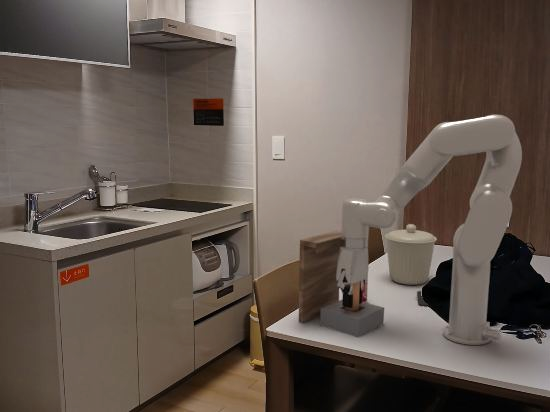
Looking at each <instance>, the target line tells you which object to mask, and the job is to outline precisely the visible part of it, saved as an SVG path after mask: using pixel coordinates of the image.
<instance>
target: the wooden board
mask: <svg viewBox="0 0 550 412" xmlns="http://www.w3.org/2000/svg"><path fill="white" fill-rule="evenodd" d="M341 232H342V230H334V231H329V232H326V233H321V234H317V235H314V236H310V237H305V238H302V239H299V273H298V277H299V279H298V323H300V324H305V323H307V322H309V321H312V320H314V319H316V318H319V317H321V308H323V307H325V306H328V305H330V304H332V303H335V302H337V301H340V288H339V287H337V284H338V282H337V280H336V271H337V261H338V255H339V250H340V248H341Z"/></svg>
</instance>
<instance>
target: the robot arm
mask: <svg viewBox="0 0 550 412" xmlns="http://www.w3.org/2000/svg"><path fill="white" fill-rule="evenodd" d="M485 152H486V157H485V162H484V163H483V164H484V165H483V167H482V170H481V173H480V175H479V178H478V180H477V183H476V186H475V188H474V190H473V192H472V194H471V196H470V198H469V208H470V209H469V211H468V213H467V217H466V219H465V222H464V223H462V224H461V225H460V226H459V227H458V228H457V229H456V230H455V233H454V235H453V243H452V271H451V282H450V283H451V285H450V289H451V290H450V299H449V300H450V301H449V302H450V303H449V318H448V319H449V320H448V325H445V326H444V327H443V328H442V335H443V336H444V337H445V338H446V339H448V340H450V341H451V342H454V343H458V344H463V345H469V346H471V345H472V346H480V345H481V346H482V345H486V344H489V343H490V342H491V341H492V339H493V340H496V341H500V340H501V338H502V333H500V330H499V329H496V328H492V327H491V326H490V323H491V322H490V321H487V317H488V316H487V314H488V302H489V288H490V287H489V286H490V277H491V261H492V259H494V257H495V255H496V253H497V251H498V248H499V247H500V244H501V242H502V239H503V237H504V235H505V232H506V231H507V227H508V224H509V223H510V221H511V220H510V219H511V218H512V213H513V202H512V200H511V197H510V196H511V194H512V191H513V189H514V187H515V182H516V180H517V178H518V175H519V172H520V169H521V164H522V162H523V161H522V160H523V150H522V143H521V142H520V138H519V137H518V134H517V133H516V128H515V125H514V123H513V121H512V119H510V118H509V117H507V116H505V115H502V114H489V115H485V116H482V117H476V118H471V119H465V120H457V121H444V122H441V123H439V124H437V125H436V126H435V127H434V128H433V129H432V130H431V132H430V133H429V134H428V135H427V136H426V137H425V139H424V140H423V141H422V142H421V144H419V146H418V147H417V148H416V149H415V150H414V152H413V153H412V154H411V155H410V157H408V159H407V160H406V161H404V162H405V163H404V164H402V166H401V168H400V169H399V171H398V173H397V174H396V175H395V177H393V179H392V180H391V181H390V182H389V183H388V185H387V186H386V187H385V188H384V190H383V191H382V192H381V193H380V195H378V197H377V198H376V199H375V201H368V200H367V199H365V198H359V197H352V198H351V197H350V198H345V199H344V201H343V202H342V209H341V231H342V232H341V247H340V250H339V255H338V261H337V271H336V280H337V282H338V284H337V287H339V290H341V293H342V299H341V300H342V305H343V306H345V307H348V308H352V307H353V294H352V289H353V284H354V283H356V282H359V281H360V291H359V304H362V290H363V289H364V283H365V281H366V279H367V278H369V249H368V248H369V230H370V227H371V228H376V229H382V230H383V229H388V228H391V227H392V226H393V225H394V224H395V223H396V221H397V218H398V216H399V214H400V213H401V211H403V209H404V208H405V207H406V206H407V205H408V203H409V202H410V201H412V199H413V198H414V197H415V196H416V195H417V194H418V193H419V192H420V191H422V190H423V189H425V188H426V187H428V185H430V184H431V183H432V182H433V180H434V179H435V178H436V177H437V175H439V173H440V172H441V171H442V169H444V167H445V166H446V165H447V164H448V163H449V162H450V161H451V159H452V158H453V157H459V156H465V155H473V154H479V153H485ZM346 280H347V281H348V282H346ZM346 285H349V289H348V287H347V286H346Z"/></svg>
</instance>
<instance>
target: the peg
mask: <svg viewBox="0 0 550 412" xmlns="http://www.w3.org/2000/svg"><path fill="white" fill-rule="evenodd" d="M346 282H348V281H347V280H346ZM346 286H347V287H348V289H349V285H346ZM359 291H360V281H359V282H356V283H354V284H353V289H352V294H353V307H352V308H348V307H345V310H348V311H351V312H358V311H359Z"/></svg>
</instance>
